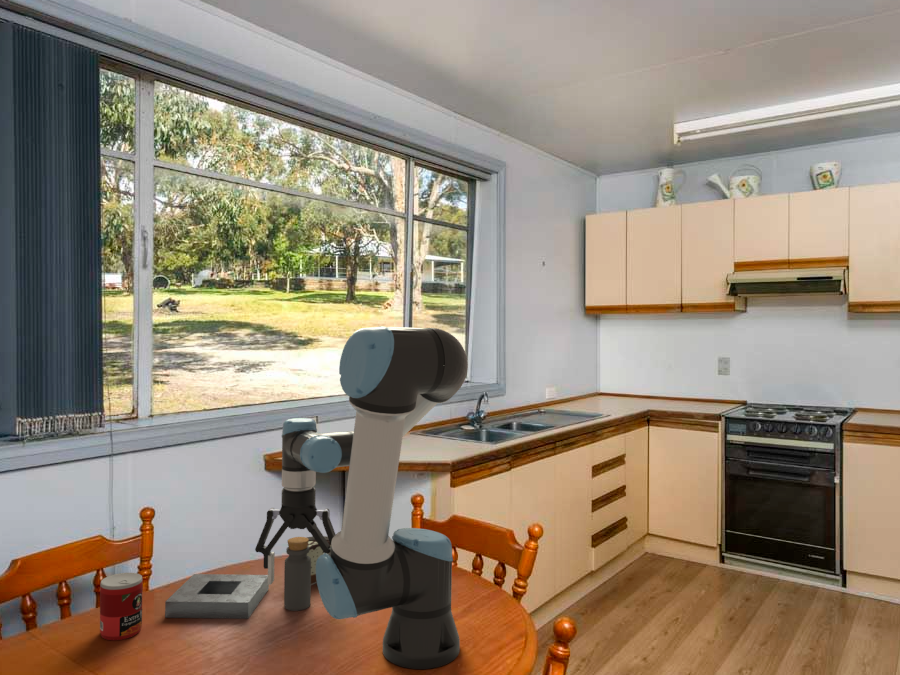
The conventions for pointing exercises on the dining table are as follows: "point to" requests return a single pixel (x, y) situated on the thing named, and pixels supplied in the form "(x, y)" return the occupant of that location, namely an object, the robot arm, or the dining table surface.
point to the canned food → (120, 606)
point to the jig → (217, 596)
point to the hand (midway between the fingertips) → (297, 582)
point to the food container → (314, 555)
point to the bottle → (297, 575)
